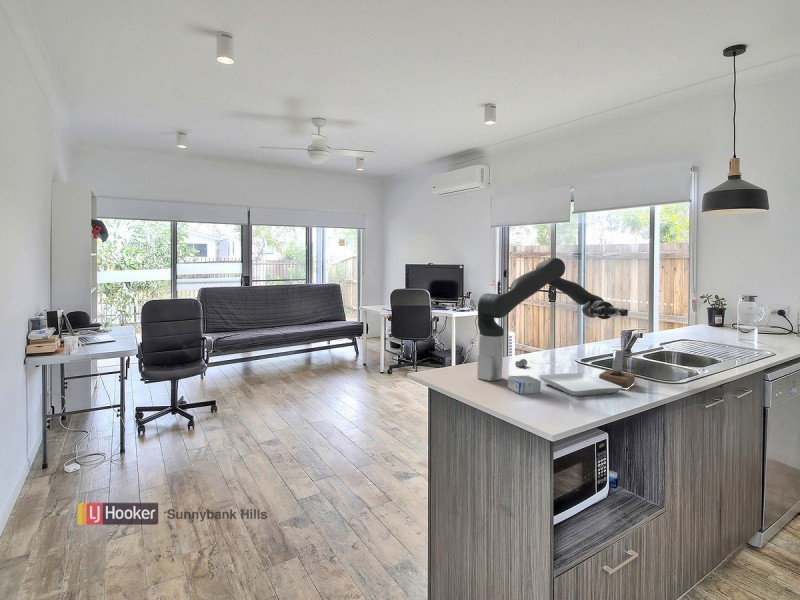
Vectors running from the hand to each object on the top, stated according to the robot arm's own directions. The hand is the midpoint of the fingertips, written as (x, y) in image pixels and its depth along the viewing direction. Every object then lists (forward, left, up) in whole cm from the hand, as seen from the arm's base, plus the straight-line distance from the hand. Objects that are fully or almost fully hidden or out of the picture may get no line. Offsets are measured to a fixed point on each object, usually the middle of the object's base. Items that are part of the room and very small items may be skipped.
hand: (612, 313), depth 180 cm
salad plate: (-25, +3, -27) cm, 37 cm away
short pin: (-10, +34, -25) cm, 43 cm away
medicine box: (-38, +14, -24) cm, 47 cm away
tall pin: (-10, -5, -26) cm, 28 cm away
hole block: (-10, -5, -26) cm, 28 cm away
